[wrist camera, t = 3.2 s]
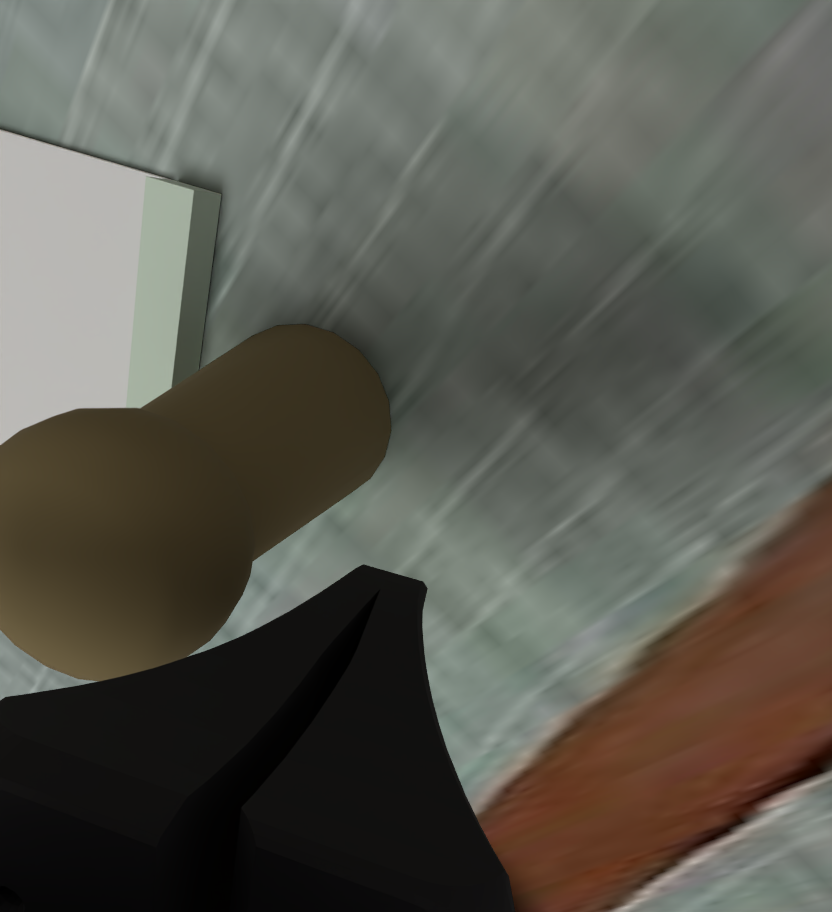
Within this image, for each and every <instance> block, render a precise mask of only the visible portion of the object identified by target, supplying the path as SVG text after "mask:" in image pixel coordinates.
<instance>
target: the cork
mask: <svg viewBox="0 0 832 912" xmlns="http://www.w3.org/2000/svg"><path fill="white" fill-rule="evenodd" d="M390 433H391V422H390V409H389V401H388V398H387V396H386V393H385V391H384V388H383V386H382V383H381V381H380V378H379V376H378V374H377V372H376V371H375V370H374V369H373V367H372V366H371V365H370V364H369V362H368V361H367V360H366V359H365V357H364V356H363V355H362V354H361V352H360V351H359V350H358V349H357V348H355V347H354V346H352V345H351V344H349V343H348V342H346V341H345V340H343V339H342V338H341V337H339V336H338V335H336V334H335V333H333V332H330V331H326V330H323V329H320V328H316V327H313V326H310V325H306V324H297V325H277V326H274V327H272V328H270V329H267V330H265V331H263V332H260V333H258V334H255V335H253V336H251V337H250V338H248V339H247V340H245V341H244V342H242V343H240V344H239V345H237V346H236V347H234V348H233V349H231V350H230V351H228V352H227V353H225V354H223V355H222V356H220V357H219V358H217V359H216V360H214V361H213V362H211V363H210V364H208V365H206V366H205V367H203V368H202V369H200V370H199V371H197V372H196V373H194V374H192V375H191V376H189V377H188V378H186V379H185V380H183V381H182V382H180V383H179V384H177V385H175V386H174V387H172V388H171V389H169V390H168V391H166V392H165V393H163V394H161V395H160V396H158V397H157V398H155V399H154V400H152V401H151V402H149V403H148V404H146V405H144V406H143V407H141V408H78V409H74V410H71V411H68V412H65V413H62V414H59V415H56V416H53V417H50V418H48V419H46V420H43V421H41V422H38V423H36V424H34V425H31V426H29V427H27V428H24V429H22V430H20V431H19V432H17V433H16V434H15V435H13V436H12V437H11V438H9V439H8V440H7V441H5V442H4V443H2V444H1V445H0V630H1V631H2V632H3V633H4V634H5V635H6V636H7V637H8V638H9V639H10V640H11V641H12V643H13V644H14V645H15V646H17V647H18V648H20V649H21V650H23V651H24V652H26V653H27V654H29V655H30V656H32V657H33V658H34V659H36V660H37V661H39V662H40V663H42V664H43V665H45V666H47V667H49V668H52V669H54V670H57V671H59V672H62V673H64V674H67V675H69V676H72V677H75V678H77V679H84V680H93V681H103V680H108V679H112V678H116V677H121V676H125V675H129V674H133V673H137V672H140V671H144V670H148V669H152V668H155V667H158V666H162V665H165V664H168V663H171V662H174V661H177V660H180V659H183V658H186V657H187V656H189V655H190V654H192V653H193V652H194V651H196V650H197V649H199V648H200V647H202V646H203V645H204V644H206V643H207V642H209V641H210V640H211V639H212V638H213V637H214V635H215V634H216V633H217V632H218V631H219V630H220V628H221V627H222V626H223V625H224V624H225V623H226V621H227V619H228V618H229V616H230V614H231V613H232V611H233V610H234V608H235V606H236V605H237V603H238V601H239V600H240V598H241V596H242V595H243V592H244V590H245V587H246V585H247V582H248V580H249V577H250V574H251V568H252V562H253V561H254V560H255V559H257V558H258V557H260V556H261V555H263V554H264V553H265V552H267V551H268V550H270V549H271V548H273V547H274V546H275V545H277V544H278V543H280V542H281V541H283V540H284V539H286V538H287V537H288V536H290V535H291V534H293V533H294V532H296V531H297V530H298V529H300V528H301V527H303V526H304V525H306V524H307V523H309V522H310V521H311V520H313V519H314V518H316V517H317V516H319V515H320V514H321V513H323V512H324V511H326V510H327V509H329V508H330V507H332V506H333V505H334V504H336V503H337V502H339V501H340V500H342V499H343V498H344V497H346V496H347V495H349V494H350V493H352V492H353V491H354V490H356V489H357V488H358V487H360V486H361V485H362V484H364V483H365V482H366V481H368V480H369V479H370V478H371V477H372V475H373V474H374V472H375V471H376V469H377V468H378V466H379V465H380V463H381V462H382V460H383V459H384V457H385V454H386V449H387V445H388V441H389V437H390Z"/></svg>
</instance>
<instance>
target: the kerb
mask: <svg viewBox="0 0 832 912" xmlns="http://www.w3.org/2000/svg"><path fill="white" fill-rule="evenodd" d="M220 202H221V194H219V193H216V192H212V191H209V190H206V189H202V188H199V187H195V186H192V185H189V184H185V183H182V182H178V181H174V180H167V179H161V178H154V177H148V176H146V180H145V192H144V203H143V215H142V227H141V238H140V250H139V262H138V273H137V285H136V296H135V308H134V320H133V331H132V343H131V355H130V366H129V378H128V390H127V401H126V408H141V407H143V406H144V405H146V404H148V403H149V402H151V401H152V400H154V399H155V398H157V397H158V396H160V395H161V394H163V393H165V392H166V391H168V390H169V389H171V388H172V387H174V386H175V385H177V384H179V383H180V382H182V381H183V380H185V379H186V378H188V377H189V376H191V375H192V374H194V373H196V372H197V371H199V363H200V356H201V348H202V340H203V332H204V325H205V317H206V309H207V302H208V294H209V286H210V279H211V271H212V263H213V256H214V248H215V240H216V232H217V225H218V217H219V209H220Z"/></svg>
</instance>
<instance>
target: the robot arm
mask: <svg viewBox="0 0 832 912" xmlns="http://www.w3.org/2000/svg"><path fill="white" fill-rule="evenodd" d="M426 593H427V587H426V585H425V584H424V582H423V581H419V580H416V579H412V578H409V577H405V576H402V575H398V574H395V573H391V572H388V571H384V570H381V569H377V568H374V567H370V566H367V565H361V566H359V567H357V568H356V569H354V570H353V571H351V572H350V573H348V574H347V575H345V576H344V577H342V578H341V579H340V580H338V581H337V582H335V583H334V584H332V585H331V586H329V587H328V588H326V589H325V590H323V591H322V592H320V593H318V594H317V595H315V596H314V597H312V598H310V599H309V600H307V601H306V602H304V603H302V604H301V605H299V606H297V607H296V608H294V609H292V610H291V611H289V612H287V613H285V614H284V615H282V616H280V617H278V618H276V619H274V620H272V621H271V622H269V623H267V624H265V625H263V626H261V627H259V628H257V629H255V630H253V631H251V632H249V633H247V634H245V635H243V636H241V637H239V638H236V639H234V640H231V641H229V642H227V643H224V644H222V645H219V646H217V647H215V648H212V649H209V650H207V651H204V652H201V653H198V654H195V655H192V656H189V657H186V658H183V659H180V660H177V661H174V662H171V663H168V664H165V665H162V666H158V667H155V668H152V669H148V670H144V671H140V672H137V673H133V674H129V675H125V676H121V677H116V678H112V679H108V680H103V681H99V682H94V683H89V684H84V685H79V686H74V687H68V688H61V689H55V690H49V691H43V692H37V693H31V694H24V695H18V696H10V697H5V698H3V699H2V700H1V701H0V912H515V909H514V903H513V897H512V892H511V886H510V881H509V876H508V874H507V873H506V871H505V869H504V868H503V866H502V864H501V862H500V861H499V859H498V857H497V856H496V854H495V852H494V850H493V849H492V847H491V845H490V843H489V841H488V839H487V837H486V836H485V834H484V832H483V830H482V828H481V826H480V824H479V822H478V820H477V818H476V816H475V814H474V812H473V810H472V808H471V806H470V804H469V802H468V799H467V797H466V795H465V793H464V790H463V788H462V785H461V783H460V781H459V778H458V776H457V773H456V771H455V768H454V766H453V763H452V761H451V758H450V756H449V753H448V751H447V748H446V745H445V742H444V738H443V735H442V732H441V729H440V726H439V722H438V719H437V715H436V712H435V708H434V704H433V700H432V695H431V691H430V686H429V680H428V675H427V669H426V662H425V655H424V644H423V631H422V612H423V606H424V602H425V597H426Z"/></svg>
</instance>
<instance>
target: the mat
mask: <svg viewBox="0 0 832 912" xmlns="http://www.w3.org/2000/svg"><path fill="white" fill-rule="evenodd" d="M146 176H148V177H154V178H161V179H167V180H172V179H168V178H165V177H161V176H158V175H155V174H151V173H148V172H144V171H141V170H138V169H134V168H131V167H127V166H124V165H121V164H117V163H114V162H110V161H107V160H103V159H100V158H97V157H93V156H90V155H86V154H83V153H80V152H76V151H73V150H69V149H66V148H63V147H59V146H56V145H52V144H49V143H46V142H42V141H39V140H35V139H32V138H29V137H25V136H22V135H18V134H15V133H12V132H8V131H5V130H1V129H0V445H1V444H2V443H4V442H5V441H7V440H8V439H9V438H11V437H12V436H13V435H15V434H16V433H17V432H19V431H20V430H22V429H24V428H27V427H29V426H31V425H34V424H36V423H38V422H41V421H43V420H46V419H48V418H50V417H53V416H56V415H59V414H62V413H65V412H68V411H71V410H74V409H78V408H126V401H127V390H128V378H129V366H130V355H131V343H132V331H133V320H134V308H135V296H136V285H137V273H138V262H139V250H140V238H141V227H142V215H143V203H144V192H145V180H146Z"/></svg>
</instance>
